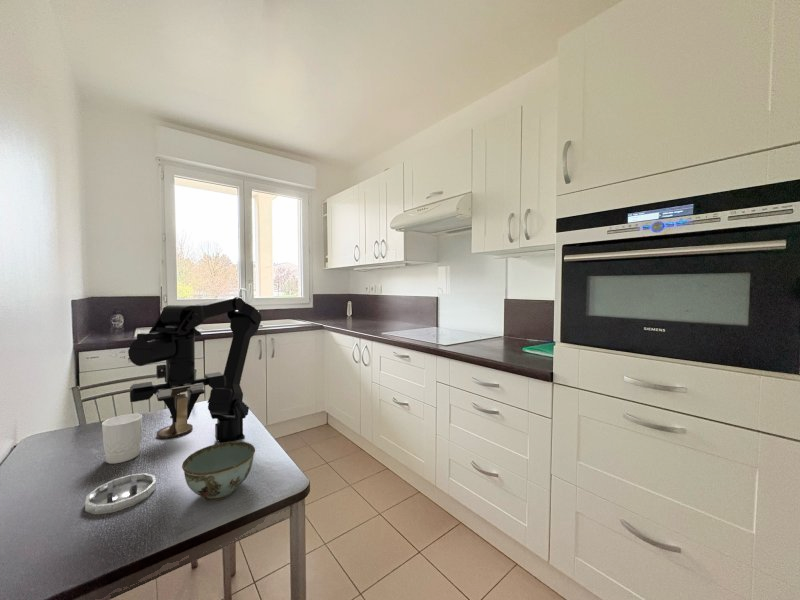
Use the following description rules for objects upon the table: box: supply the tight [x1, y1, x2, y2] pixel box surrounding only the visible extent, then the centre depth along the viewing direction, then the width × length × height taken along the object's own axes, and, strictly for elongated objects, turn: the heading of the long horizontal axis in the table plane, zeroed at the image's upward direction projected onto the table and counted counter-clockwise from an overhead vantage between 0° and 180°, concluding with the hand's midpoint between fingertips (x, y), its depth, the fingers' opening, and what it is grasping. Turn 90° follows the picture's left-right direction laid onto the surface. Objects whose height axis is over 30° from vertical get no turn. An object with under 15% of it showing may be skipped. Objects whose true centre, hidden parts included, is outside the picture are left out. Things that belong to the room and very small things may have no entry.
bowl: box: [181, 440, 256, 502], centre depth 68 cm, size 14×13×8 cm
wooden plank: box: [175, 393, 188, 433], centre depth 76 cm, size 2×4×8 cm, turn 41°
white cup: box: [101, 413, 143, 464], centre depth 82 cm, size 8×8×10 cm
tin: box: [84, 472, 157, 515], centre depth 66 cm, size 11×11×2 cm
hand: (181, 420), depth 76 cm, fingers closed on wooden plank, 2 cm apart
